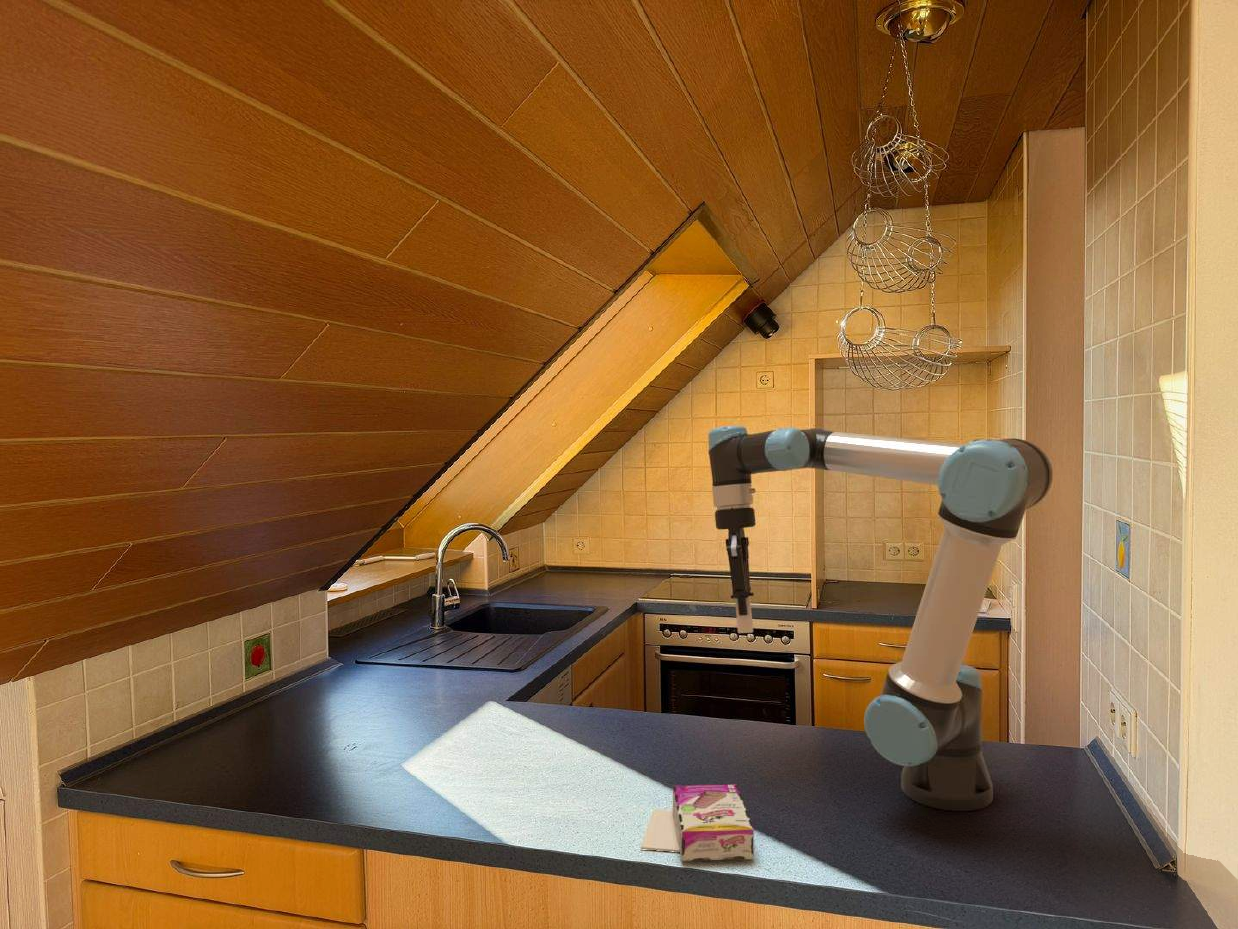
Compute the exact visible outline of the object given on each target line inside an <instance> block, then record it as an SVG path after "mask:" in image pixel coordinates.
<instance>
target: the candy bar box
mask: <svg viewBox="0 0 1238 929" xmlns="http://www.w3.org/2000/svg"><path fill="white" fill-rule="evenodd" d="M672 811H673V817H674V822H675V827H676V832H677V837H678V843H679V848H680V853H679V854H680V859H681V861H682V862H683V861H719V860H720V861H724V860H725V861H730V860H732V861H733V860H739V861H740V860H755V854H754V853H755V851H754V843H755V841H754V839H755V836H754V834H755V832H754V827H753V824H752V821H751V819H750V815H749V813H748V810H747V808H746V806H745V803H744V801H743V797H742V795H741V792H740V789H739V787H738V784H736V783H729V784H728V783H725V784H696V785H695V784H692V785H691V784H689V785H688V784H687V785H686V784H685V785H672Z"/></svg>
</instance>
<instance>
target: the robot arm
mask: <svg viewBox="0 0 1238 929" xmlns="http://www.w3.org/2000/svg"><path fill="white" fill-rule="evenodd" d="M707 452H708V456H709V457H708V458H709V464H710V471H711V481H712V484H711V485H712V488H711V489H712V500H713V507H714V508H716V510H715V511H714V519H715V528H716V529H717V530H727V531H728V538H725V547H726V554H727V557H728V565H729V573H730V580H731V588H732V589H731V590H732V592H731V593H732V594H731V595H730V599H734V601H735V602H734V604H735V614H736V625H737V626H736V628H737V634H749V633H750V634H751V633H754V623H753V614H752V602H751V597H754V595H755V593H754V592H751V590H752V587H751V579H750V561H749V558H750V557H749V556H750V555H749V554H750V553H749V546H750V541H749V536H746V535H745V530H744V529H745V528H753V527H755V526H756V515H755V514H756V513H755V509H754V507H751V505H753V504H754V495H753V494H756V492H757V491H756V489H755V487H753V486H752V485H753V484H752V475H756V474H764V473H772V472H773V473H774V472H775V473H776V472H787V471H793V470H801V469H814V470H822V471H832V472H833V471H835V472H839V473H840V472H841V473H848V474H853V475H854V474H855V475H862V476H867V477H876V478H882V479H891V480H898V481H905V482H913V483H919V484H925V485H933V486H937V487H938V490H937V491H938V493H939V495H940V497H941V502H940V505H939V509H938V511H937V517H938V518H939V520H940V522H941V524H942V525H943V526H942V527H943V531H942V534H941V537H940V539H939V543H938V546H937V549H936V552H935V556H934V559H933V562H932V565H931V568H930V572H929V575H928V576H927V577H928V578H927V581H926V584H925V587H924V590H923V594H922V596H921V599H920V603H919V605H918V608H917V611H916V612H917V613H916V615H915V619H914V622H913V624H912V628H911V631H910V635H909V637H908V641H907V644H906V647H905V650H904V654H903V655H902V660H901V661H899V662H897V663H893V664H892V665H891V666H890V667H889V669H888V670H887V675H886V678H885V679H884V682H883V687H882V690H881V691H880V692H881V693H880V694H879V696H876V697H874V698H873V699H872V701H871V702H870V703H869V704H868V706H867V707H866V709H865V712H864V717H863V725H864V730H865V733H866V736H867V737H868V738H869V741H870V742H871V745H872V747H873V749H875V750H876V752H877V753H878V754H880V755H881V756H882V757H883V758H885V759H886V760H887V761H889V762H891V763H893V764H895V765H898V766H903V768H902V771H901V776H900V781H901V782H900V788H901V791H902V793H904V794H905V795H906V796H907V798H909V799H911V800H912V801H915V802H916V803H919V804H921V805H923V806H926V807H930V808H934V809H938V810H944V811H952V812H967V811H978V810H982V809H984V808H987V807H988V806H989V805H991V804H992V802H993V800H994V786H993V782H992V780H991V776H990V774H989V770H988V768H987V764H986V762H985V758H984V756H983V750H982V749H983V747H982V746H983V745H982V744H983V743H982V742H983V738H982V736H983V729H982V728H983V725H982V723H983V715H982V714H983V702H982V701H983V690H984V688H983V685H982V675H981V673H980V671H979V670H978V669H977V668H975V667H972V666H970V665H967V664H965V663H963V662H964V659H965V655H966V654H967V653H966V652H967V649H968V646H969V643H970V641H971V638H972V635H973V633H974V632H973V631H974V628H975V625H976V624H977V621H978V617H979V614H980V612H981V608H982V605H983V603H984V599H985V596H986V594H987V590H988V588H989V585H990V581H991V578H992V575H993V573H994V570H995V566H996V564H997V561H998V558H999V555H1000V551H1001V549H1002V547H1003V545H1005V544H1007V543H1009V542H1012V541H1014V540H1016V538H1017V537H1018V534H1019V531H1020V528H1021V524H1022V522H1023V519H1024V517H1025V513H1026V510H1029V509H1030V508H1032V507H1035V506H1037V504H1039V503H1040V502H1041V501H1043V500H1044V498H1045V497H1046V496H1047V494H1048V493H1049V491H1050V489H1051V487H1052V483H1053V466H1052V463H1051V462H1050V459H1049V457H1048V456H1047V455H1046V453H1045V451H1043V450H1042V449H1041V448H1040V447H1039V446H1037V445H1036V444H1034V443H1032V442H1030V441H1028V440H1026V439H1020V438H1003V439H1002V438H1001V439H990V438H989V439H977V438H976V439H975V438H973V439H972V440H970V441H969V442H968V443H967V444H965V443H954V442H947V441H946V442H945V441H938V440H937V441H935V440H925V439H914V438H906V437H905V438H904V437H894V436H883V435H873V434H863V433H857V432H855V433H854V432H845V431H832V430H828V429H826V428H816V427H814V428H813V427H811V428H809V429H808V428H807V429H799V428H796V427H784V428H781V427H780V428H777V429H773V430H768V431H762V432H757V433H752V434H751V433H749V434H748V430H747V427H745V426H743V425H727V426H720V427H719V426H718V427H716V428H711V430H710V431H709V432H708V451H707Z"/></svg>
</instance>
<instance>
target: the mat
mask: <svg viewBox="0 0 1238 929" xmlns="http://www.w3.org/2000/svg"><path fill="white" fill-rule="evenodd" d="M641 849H647V850H660V851H661V850H662V851H674V852H680V848H679V843H678V837H677V832H676V827H675V822H674V817H673V809H672V810H669V809H668V810H667V809H657V808H656V809H655V808H654V809H653V811H652V812H651V816H650V819H649V821H648V824H647V828H646V831H645V834H644V837H643V839H642V842H641V845H640V850H641Z"/></svg>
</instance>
